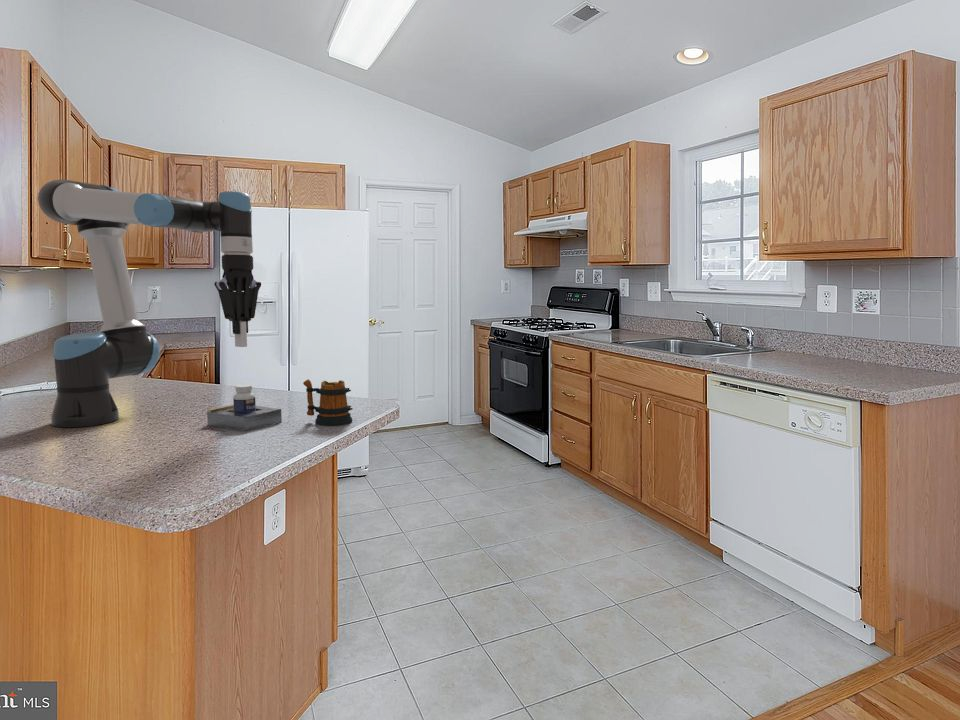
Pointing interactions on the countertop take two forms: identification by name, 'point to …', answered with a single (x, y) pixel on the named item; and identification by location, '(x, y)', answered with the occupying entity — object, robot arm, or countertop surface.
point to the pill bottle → (244, 399)
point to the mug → (329, 403)
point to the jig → (243, 418)
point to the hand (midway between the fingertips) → (241, 346)
